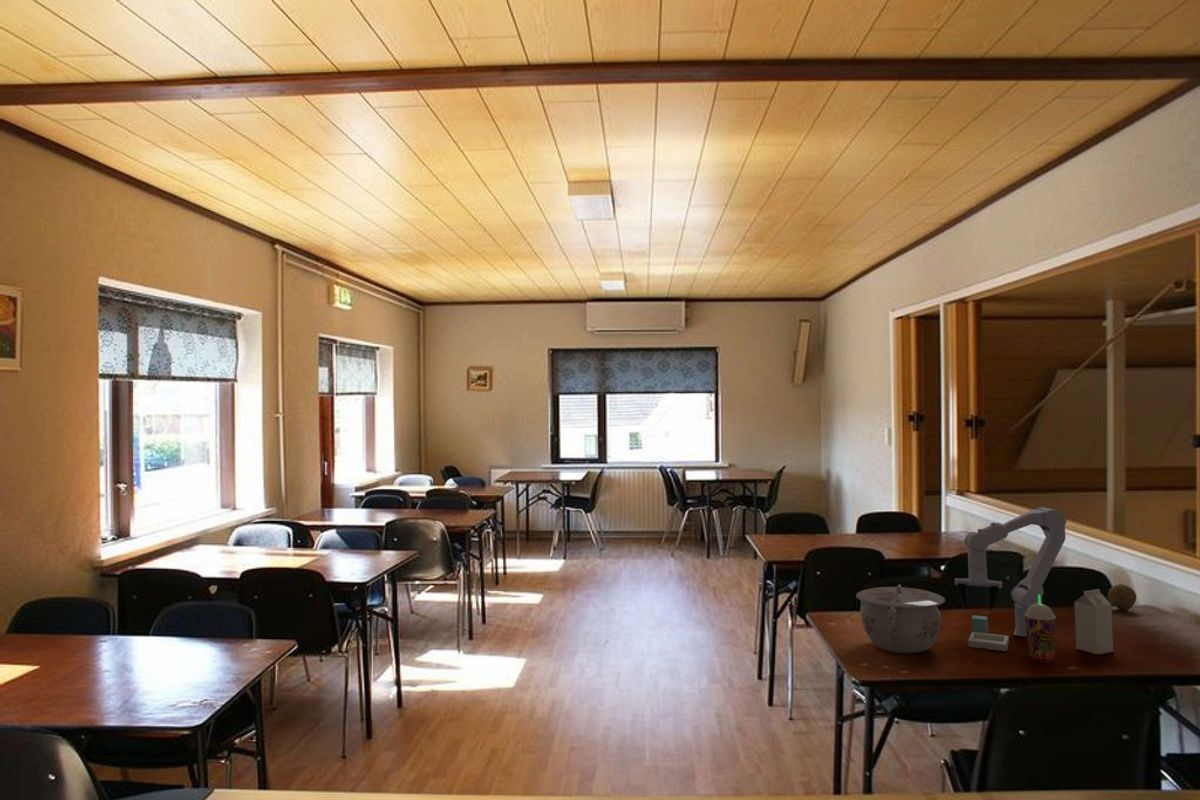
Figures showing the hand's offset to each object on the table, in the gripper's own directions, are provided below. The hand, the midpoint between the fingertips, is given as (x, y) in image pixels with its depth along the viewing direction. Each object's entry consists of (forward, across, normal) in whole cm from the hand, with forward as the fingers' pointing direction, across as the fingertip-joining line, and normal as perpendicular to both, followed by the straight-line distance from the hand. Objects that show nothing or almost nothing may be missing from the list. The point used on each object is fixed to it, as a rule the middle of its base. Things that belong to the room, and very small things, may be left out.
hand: (979, 607), depth 265 cm
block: (+10, 0, 0) cm, 10 cm away
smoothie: (+10, -19, +22) cm, 31 cm away
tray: (+9, -4, +11) cm, 15 cm away
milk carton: (+10, -33, +4) cm, 35 cm away
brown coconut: (+10, -43, -56) cm, 71 cm away
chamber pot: (+10, +21, +27) cm, 36 cm away
